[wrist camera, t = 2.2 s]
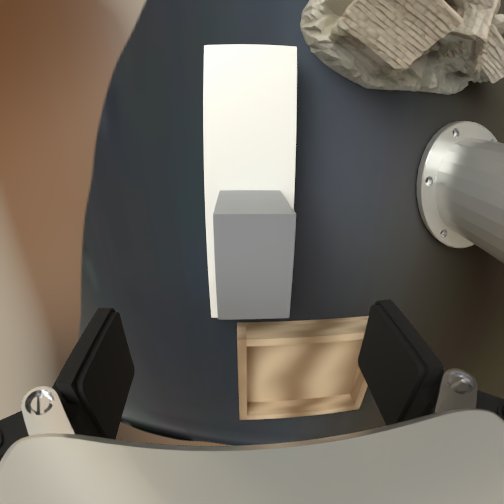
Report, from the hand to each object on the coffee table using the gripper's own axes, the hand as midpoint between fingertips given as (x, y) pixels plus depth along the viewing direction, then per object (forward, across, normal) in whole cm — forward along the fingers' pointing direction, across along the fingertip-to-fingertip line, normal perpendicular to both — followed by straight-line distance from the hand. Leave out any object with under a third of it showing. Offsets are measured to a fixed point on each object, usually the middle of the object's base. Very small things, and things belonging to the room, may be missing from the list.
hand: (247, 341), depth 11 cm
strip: (+15, -1, -3) cm, 15 cm away
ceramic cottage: (+15, -14, -17) cm, 27 cm away
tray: (+15, -7, +16) cm, 23 cm away
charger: (+14, -1, 0) cm, 14 cm away
